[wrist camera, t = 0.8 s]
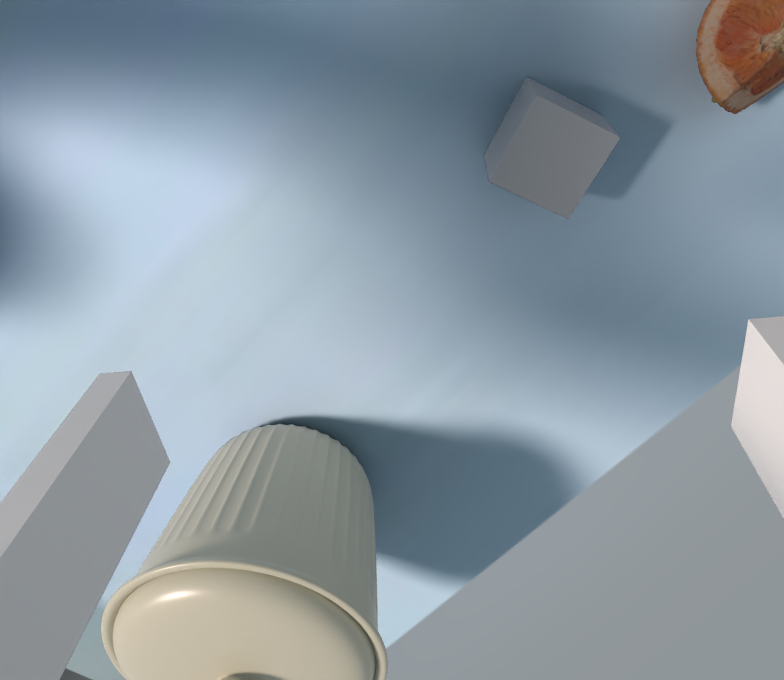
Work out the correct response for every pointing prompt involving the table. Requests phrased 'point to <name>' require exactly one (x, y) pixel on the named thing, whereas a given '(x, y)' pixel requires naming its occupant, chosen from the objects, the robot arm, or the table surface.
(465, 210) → the table surface
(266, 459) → the canister
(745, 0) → the fruit slice
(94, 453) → the robot arm
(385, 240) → the table surface
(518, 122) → the slate grey block
